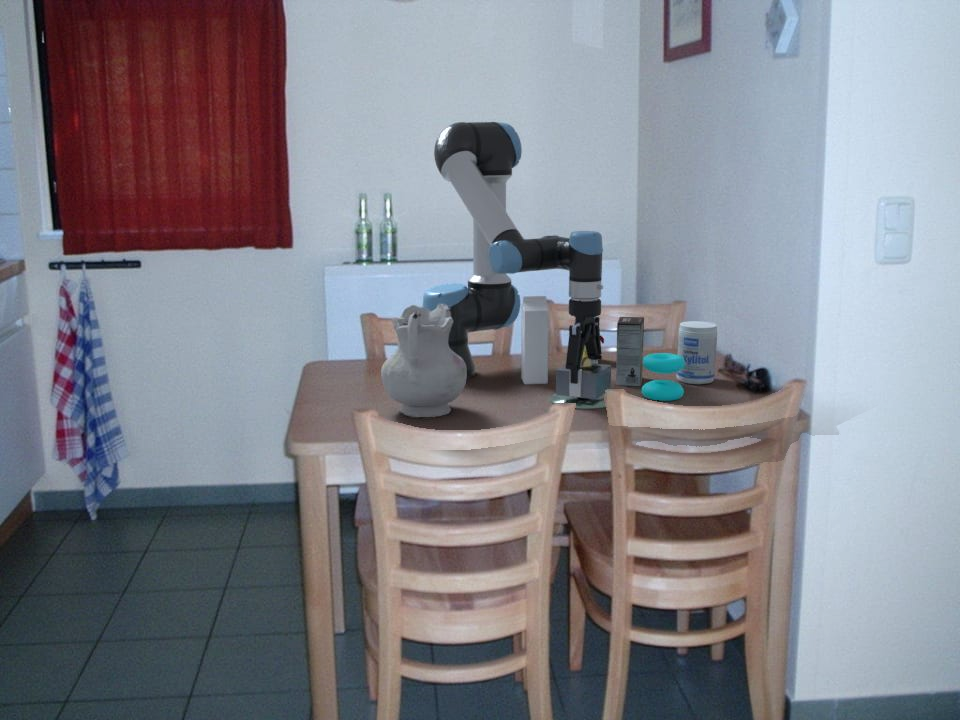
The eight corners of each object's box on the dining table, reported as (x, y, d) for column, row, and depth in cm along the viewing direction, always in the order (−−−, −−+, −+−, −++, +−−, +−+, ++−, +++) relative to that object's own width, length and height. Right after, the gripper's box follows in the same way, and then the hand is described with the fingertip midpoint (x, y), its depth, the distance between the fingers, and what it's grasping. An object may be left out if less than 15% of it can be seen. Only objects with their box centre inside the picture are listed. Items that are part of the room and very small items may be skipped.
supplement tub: (681, 385, 253) (683, 327, 250) (672, 376, 262) (674, 320, 259) (719, 385, 253) (722, 327, 250) (709, 376, 263) (712, 320, 259)
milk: (547, 384, 256) (548, 298, 251) (524, 384, 255) (524, 298, 250) (543, 378, 262) (545, 294, 257) (520, 378, 261) (521, 294, 256)
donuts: (690, 360, 236) (648, 361, 235) (688, 401, 238) (646, 402, 237) (678, 351, 246) (638, 352, 245) (677, 391, 248) (637, 392, 247)
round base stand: (539, 404, 237) (539, 360, 234) (564, 388, 251) (565, 347, 248) (603, 412, 230) (604, 367, 227) (626, 395, 244) (627, 353, 241)
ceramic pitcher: (467, 429, 221) (475, 317, 216) (378, 425, 219) (384, 312, 214) (461, 404, 242) (468, 301, 237) (379, 400, 240) (385, 296, 235)
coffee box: (617, 376, 262) (619, 316, 259) (642, 377, 261) (644, 316, 258) (615, 385, 254) (616, 322, 250) (641, 386, 252) (642, 323, 249)
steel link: (555, 394, 238) (556, 369, 236) (571, 385, 246) (572, 361, 245) (596, 399, 233) (596, 374, 232) (610, 389, 242) (611, 365, 240)
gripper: (582, 307, 223) (581, 404, 228) (616, 292, 243) (614, 382, 248) (551, 304, 226) (550, 400, 231) (587, 290, 246) (585, 379, 251)
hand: (583, 391), depth 240 cm, fingers closed on steel link, 10 cm apart
